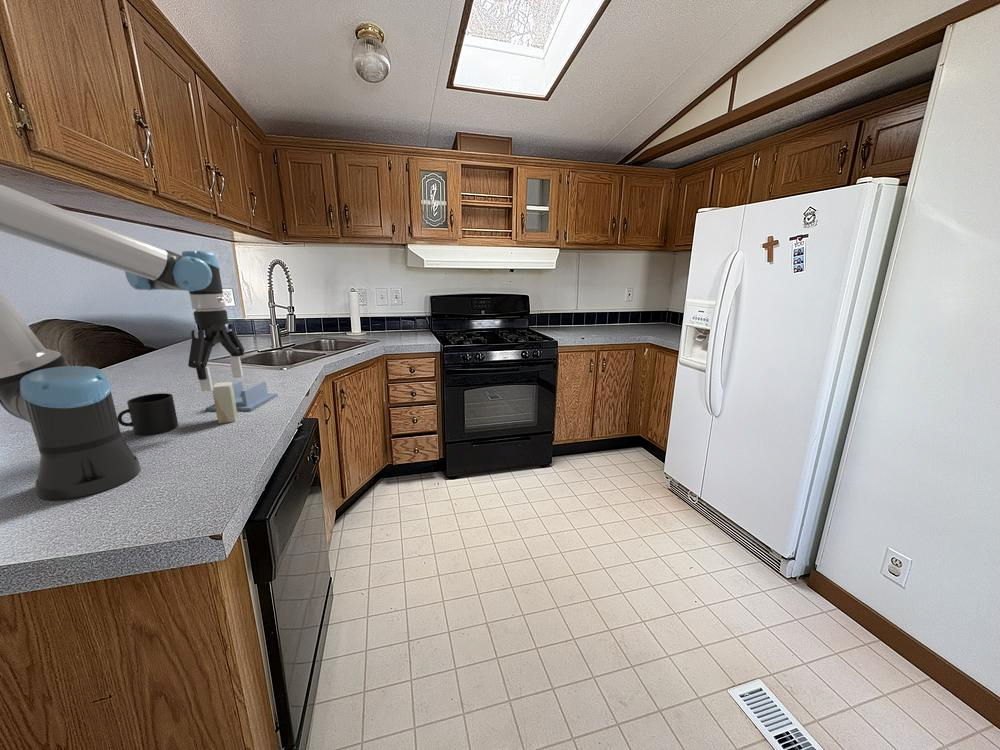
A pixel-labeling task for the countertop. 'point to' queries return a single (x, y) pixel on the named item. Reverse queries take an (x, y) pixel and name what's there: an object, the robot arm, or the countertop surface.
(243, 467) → the countertop surface
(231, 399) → the box
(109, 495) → the countertop surface
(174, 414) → the mug
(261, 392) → the slot bracket
